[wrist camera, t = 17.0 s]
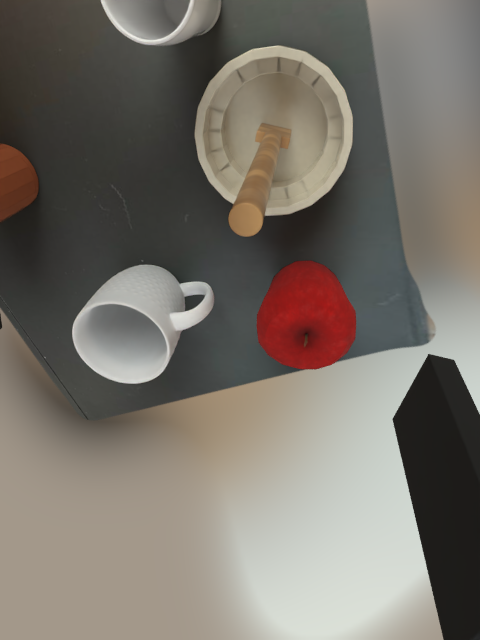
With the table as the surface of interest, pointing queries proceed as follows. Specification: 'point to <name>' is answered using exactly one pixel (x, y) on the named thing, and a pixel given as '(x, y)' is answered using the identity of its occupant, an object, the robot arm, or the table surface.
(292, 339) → the apple
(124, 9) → the white cylinder cup
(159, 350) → the mug
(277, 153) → the wooden rod
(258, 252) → the table surface
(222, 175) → the bowl
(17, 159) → the crock
